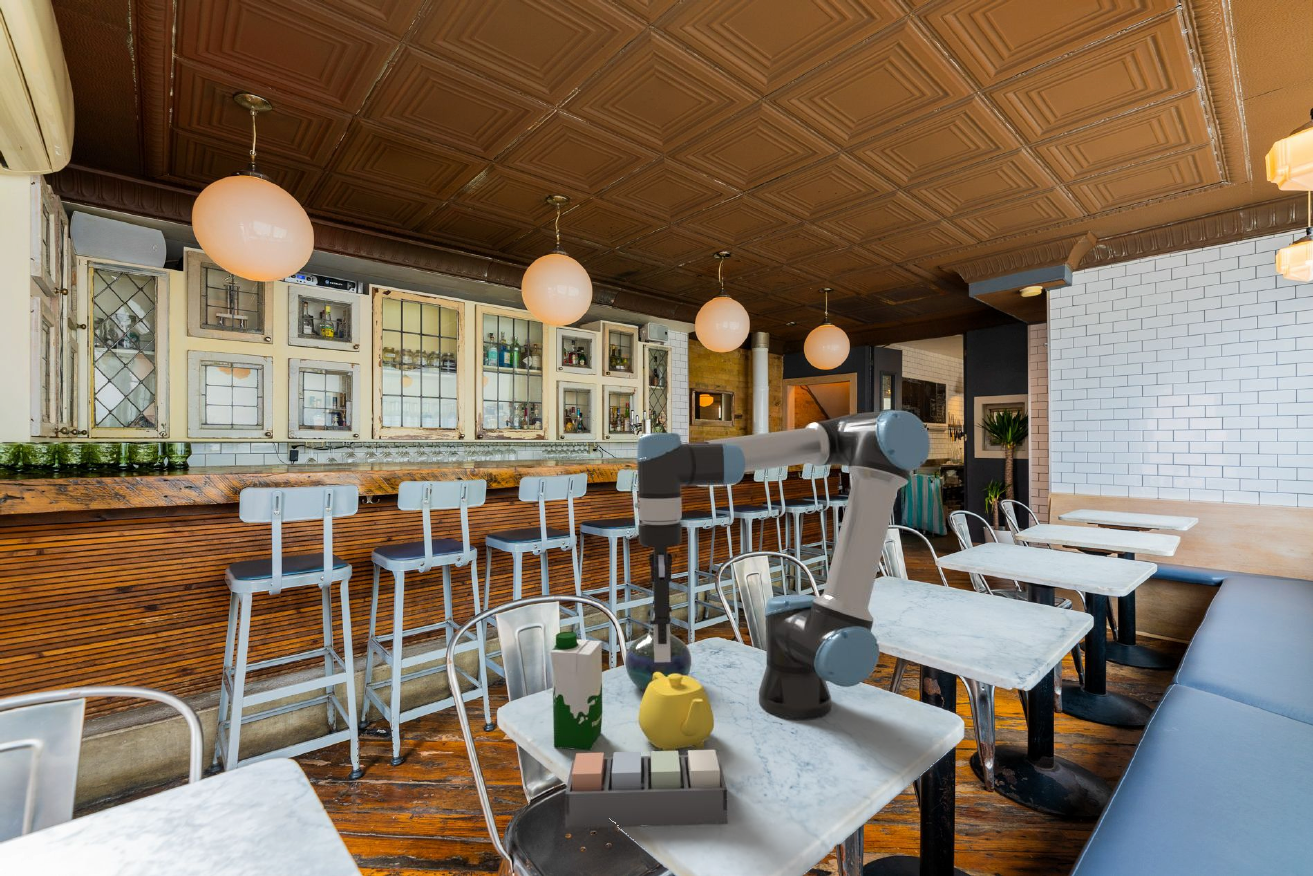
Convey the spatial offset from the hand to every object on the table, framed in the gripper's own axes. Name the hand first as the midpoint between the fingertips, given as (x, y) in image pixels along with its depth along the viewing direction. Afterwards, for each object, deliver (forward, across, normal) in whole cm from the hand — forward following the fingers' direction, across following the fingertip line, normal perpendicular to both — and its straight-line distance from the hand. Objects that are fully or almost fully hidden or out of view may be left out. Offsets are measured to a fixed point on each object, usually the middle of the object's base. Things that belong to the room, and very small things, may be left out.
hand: (661, 655), depth 102 cm
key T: (+16, +10, 0) cm, 19 cm away
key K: (+16, +10, -6) cm, 20 cm away
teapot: (+20, -9, +3) cm, 22 cm away
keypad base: (+20, +10, -3) cm, 22 cm away
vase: (+20, -35, 0) cm, 40 cm away
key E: (+16, +10, -12) cm, 22 cm away
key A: (+16, +10, +6) cm, 20 cm away
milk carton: (+20, -11, -16) cm, 28 cm away
